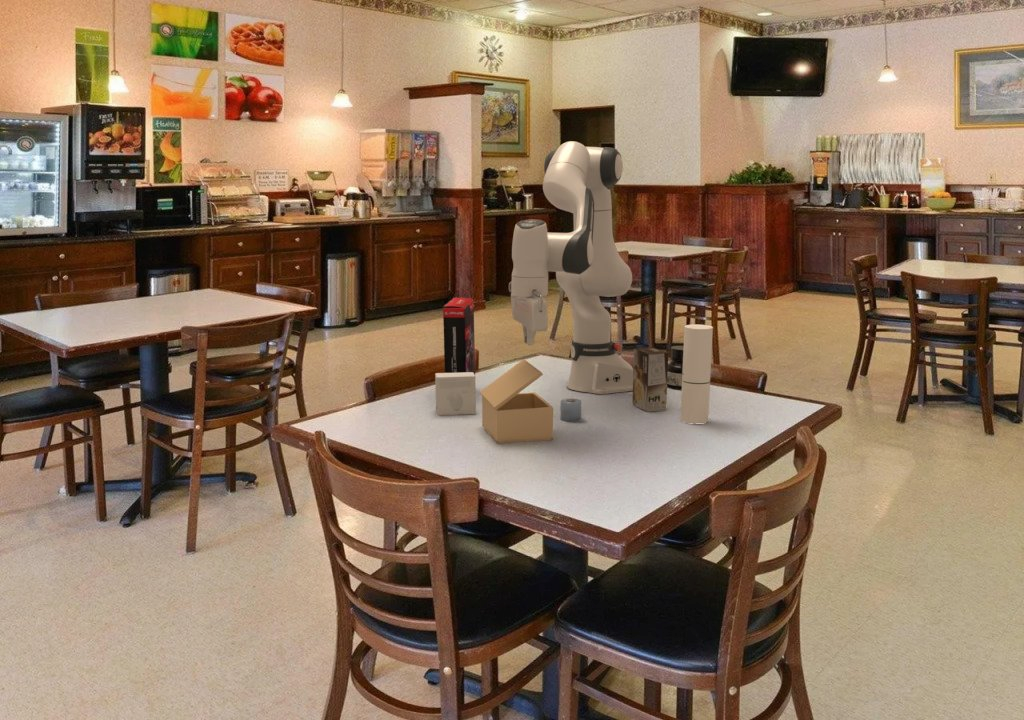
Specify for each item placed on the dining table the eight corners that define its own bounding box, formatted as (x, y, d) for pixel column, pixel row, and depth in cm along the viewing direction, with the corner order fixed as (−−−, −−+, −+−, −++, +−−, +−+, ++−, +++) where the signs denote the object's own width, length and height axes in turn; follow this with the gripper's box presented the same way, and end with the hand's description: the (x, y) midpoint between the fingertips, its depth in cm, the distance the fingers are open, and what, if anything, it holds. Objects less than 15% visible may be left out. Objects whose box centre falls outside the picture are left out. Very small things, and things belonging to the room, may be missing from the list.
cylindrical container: (704, 417, 248) (709, 324, 243) (710, 424, 241) (715, 329, 236) (677, 417, 248) (681, 324, 243) (683, 424, 241) (687, 329, 236)
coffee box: (667, 410, 255) (669, 352, 252) (646, 412, 253) (648, 354, 250) (651, 402, 264) (653, 346, 261) (630, 404, 262) (632, 348, 258)
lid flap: (525, 361, 238) (523, 358, 238) (543, 374, 223) (541, 372, 223) (481, 394, 237) (479, 391, 237) (496, 410, 222) (494, 407, 222)
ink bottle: (658, 385, 285) (660, 346, 282) (680, 382, 289) (681, 343, 287) (681, 391, 277) (682, 352, 274) (702, 388, 281) (704, 349, 279)
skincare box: (473, 408, 256) (473, 371, 254) (476, 414, 250) (476, 376, 248) (435, 409, 254) (434, 372, 252) (436, 415, 248) (436, 377, 246)
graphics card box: (467, 402, 263) (467, 306, 257) (443, 401, 263) (442, 305, 258) (475, 388, 279) (475, 297, 274) (452, 387, 280) (452, 297, 274)
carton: (534, 422, 242) (535, 392, 241) (552, 439, 227) (553, 407, 225) (482, 425, 239) (482, 395, 237) (496, 443, 224) (496, 410, 222)
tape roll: (577, 416, 249) (577, 397, 248) (583, 421, 244) (584, 402, 243) (557, 417, 248) (558, 398, 247) (563, 422, 242) (564, 403, 241)
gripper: (554, 292, 217) (553, 351, 220) (531, 282, 237) (530, 336, 239) (528, 293, 216) (527, 352, 219) (507, 283, 235) (506, 337, 238)
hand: (529, 343), depth 229 cm, fingers closed
